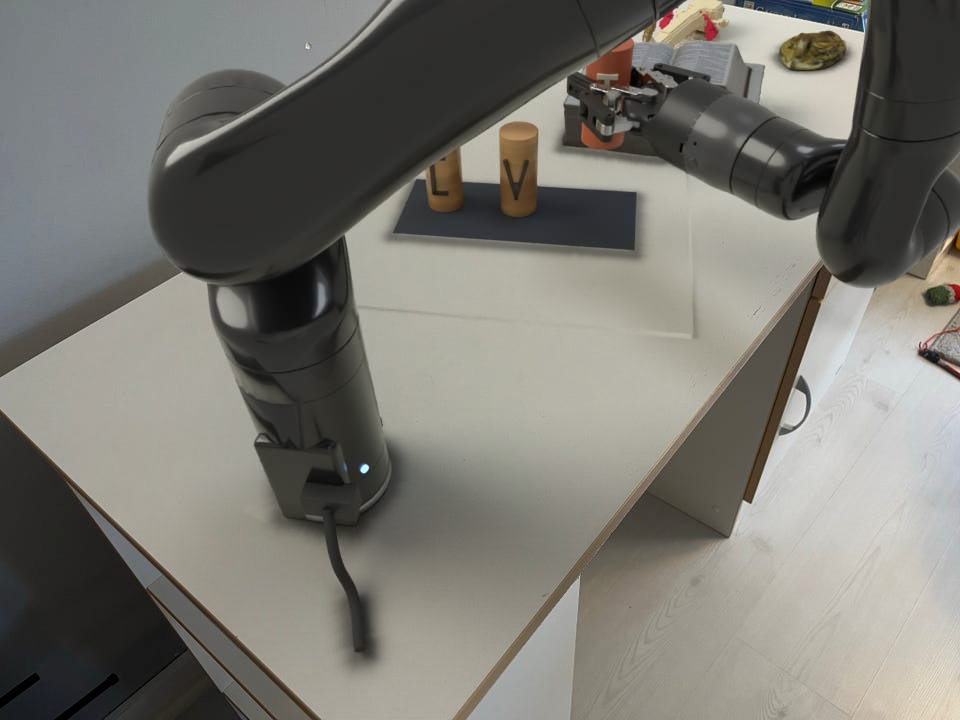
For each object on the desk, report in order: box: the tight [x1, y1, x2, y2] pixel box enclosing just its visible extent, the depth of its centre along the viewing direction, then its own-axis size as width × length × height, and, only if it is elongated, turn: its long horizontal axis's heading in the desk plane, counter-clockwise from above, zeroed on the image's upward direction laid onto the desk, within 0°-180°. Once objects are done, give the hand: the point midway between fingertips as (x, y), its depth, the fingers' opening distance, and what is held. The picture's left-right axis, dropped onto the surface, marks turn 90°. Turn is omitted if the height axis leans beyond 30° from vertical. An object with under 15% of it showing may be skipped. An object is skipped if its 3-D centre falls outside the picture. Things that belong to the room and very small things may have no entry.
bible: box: [561, 39, 766, 158], centre depth 97 cm, size 23×27×10 cm
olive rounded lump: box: [778, 30, 847, 71], centre depth 114 cm, size 9×5×15 cm
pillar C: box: [424, 146, 464, 212], centre depth 85 cm, size 4×4×10 cm
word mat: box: [392, 178, 637, 251], centre depth 86 cm, size 12×28×1 cm, turn 80°
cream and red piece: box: [641, 0, 730, 49], centre depth 116 cm, size 10×9×25 cm
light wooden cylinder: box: [498, 121, 539, 217], centre depth 83 cm, size 5×4×10 cm
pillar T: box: [581, 38, 635, 151], centre depth 72 cm, size 5×4×10 cm
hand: (589, 74), depth 73 cm, fingers closed on pillar T, 4 cm apart
